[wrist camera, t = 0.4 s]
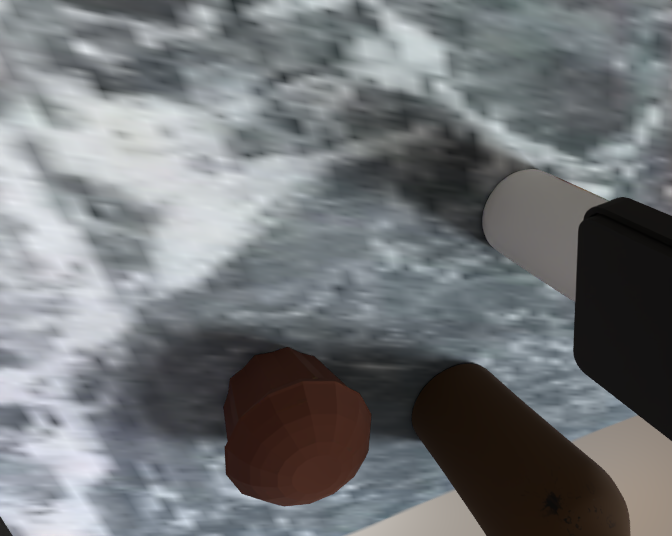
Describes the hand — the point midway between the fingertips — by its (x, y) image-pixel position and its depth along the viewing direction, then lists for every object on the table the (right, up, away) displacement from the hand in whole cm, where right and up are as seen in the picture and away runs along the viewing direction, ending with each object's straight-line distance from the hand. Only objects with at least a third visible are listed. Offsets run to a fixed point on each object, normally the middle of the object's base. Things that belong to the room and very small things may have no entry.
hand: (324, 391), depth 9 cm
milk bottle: (+16, +7, +45) cm, 49 cm away
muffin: (-5, -9, +44) cm, 45 cm away
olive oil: (+12, -11, +53) cm, 55 cm away
